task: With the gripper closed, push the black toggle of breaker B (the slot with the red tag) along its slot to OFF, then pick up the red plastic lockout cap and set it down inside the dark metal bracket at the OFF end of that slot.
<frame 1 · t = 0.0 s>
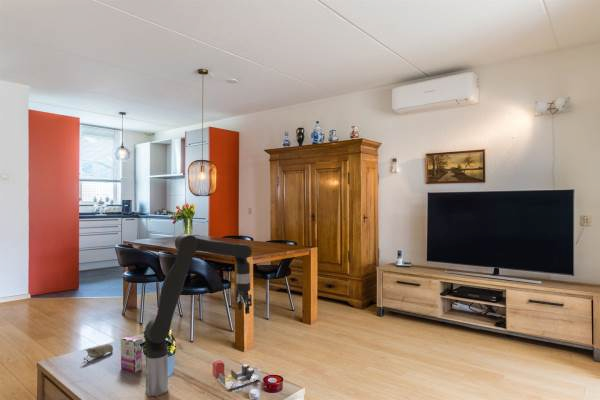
hand: (243, 311, 202), 29 cm above the table, fingers open, 8 cm apart
toggle A: (250, 380, 186), resting on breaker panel, slide at 0.0 cm
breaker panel: (238, 380, 186), on the table
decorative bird: (99, 357, 214), on the table
toggle B: (245, 375, 191), resting on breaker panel, slide at 0.0 cm
candy bar box: (131, 369, 199), on the table
lockout cap: (218, 374, 193), on the table
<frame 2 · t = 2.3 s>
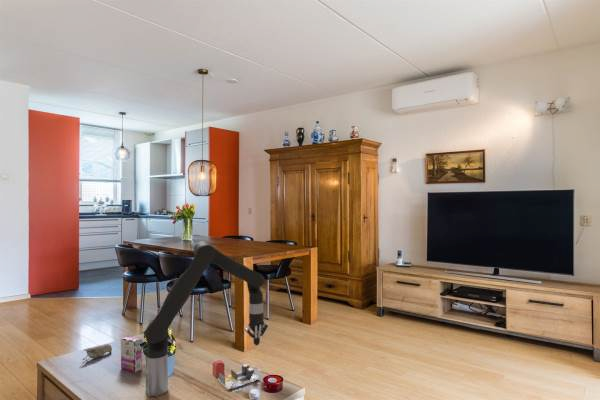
hand: (256, 344, 194), 14 cm above the table, fingers closed
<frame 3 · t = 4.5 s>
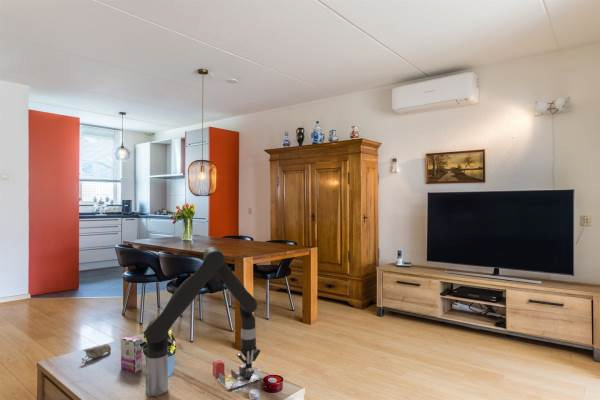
hand: (248, 370, 192), 2 cm above the table, fingers closed
toggle B: (242, 376, 190), resting on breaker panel, slide at 1.5 cm, touching gripper
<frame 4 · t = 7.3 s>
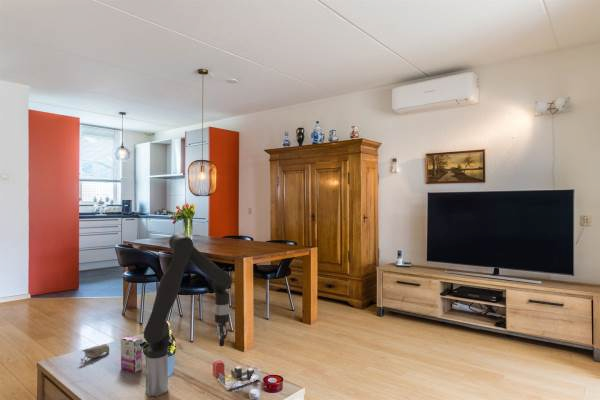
hand: (221, 345, 193), 14 cm above the table, fingers closed
toggle B: (238, 378, 189), resting on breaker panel, slide at 4.0 cm
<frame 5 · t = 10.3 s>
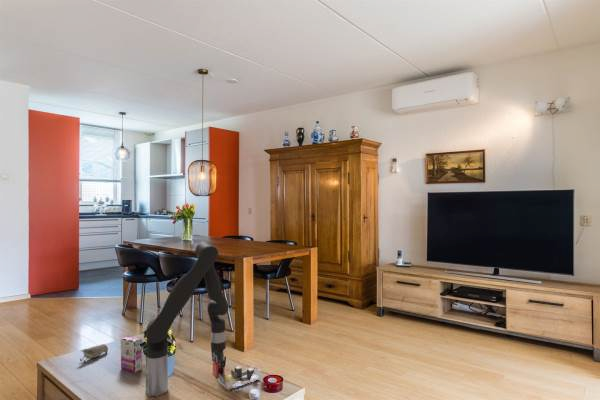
hand: (218, 372, 193), 1 cm above the table, fingers closed on lockout cap, 4 cm apart
lockout cap: (218, 374, 193), on the table, touching gripper
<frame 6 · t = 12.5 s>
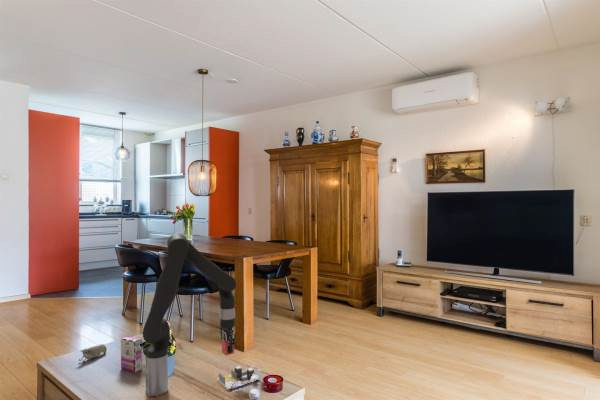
hand: (227, 351, 185), 15 cm above the table, fingers closed on lockout cap, 4 cm apart
lockout cap: (228, 352, 185), point 14 cm above the table, touching gripper
when the fingers open (3 cm above the table, at t = 14.9 s): lockout cap drops 1 cm, resting on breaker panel.
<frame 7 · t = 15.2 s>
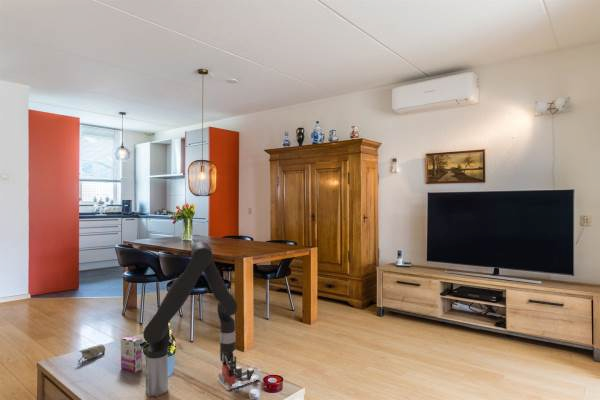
hand: (228, 373, 185), 4 cm above the table, fingers open, 6 cm apart
lockout cap: (228, 378, 185), point 1 cm above the table, touching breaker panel
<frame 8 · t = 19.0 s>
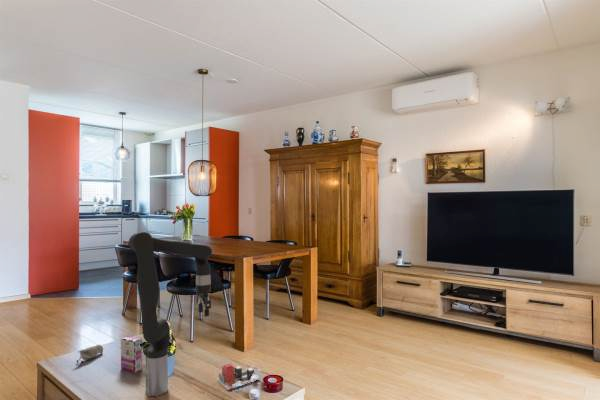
hand: (203, 314, 195), 30 cm above the table, fingers open, 8 cm apart
at the end: toggle B slide at 4.0 cm; lockout cap 0.1 cm from the target spot on the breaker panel, point 1.2 cm above the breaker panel's base; toggle A slide at 0.0 cm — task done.
